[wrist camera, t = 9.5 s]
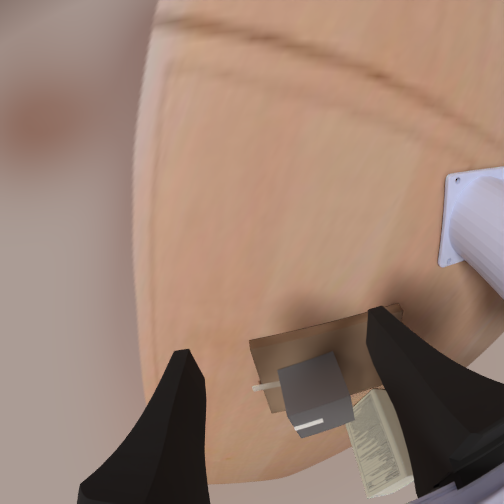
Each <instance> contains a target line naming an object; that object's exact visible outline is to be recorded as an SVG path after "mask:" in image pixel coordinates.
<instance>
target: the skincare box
mask: <svg viewBox="0 0 504 504" xmlns="http://www.w3.org/2000/svg"><path fill="white" fill-rule="evenodd" d="M353 412H354V417H355V420H354V421H352V422H349V423H346V424H345V425H346V428H347V431H348V435H349V438H350V441H351V444H352V448H353V451H354V454H355V458H356V461H357V465H358V468H359V471H360V475H361V478H362V482H363V485H364V489H365V493H366V496H367V499H369V498H373V497H378V496H383V495H387V494H392V493H394V492H396V491H397V490H399V489H401V488H403V487H404V486H406V485H408V484H410V483H411V482H413V481H414V477H413V472H412V467H411V463H410V458H409V454H408V450H407V446H406V443H405V439H404V436H403V432H402V429H401V426H400V423H399V420H398V417H397V414H396V411H395V409H394V406H393V404H392V402H391V400H390V398H389V396H388V394H387V392H386V390H382V389H372V390H371V391H370V392H369V393H368V394H367V395H366V396H364V397H363V398H362V399H361V400H360V401H359V402H358V403H357V404H356V405H355V406H354V407H353Z"/></svg>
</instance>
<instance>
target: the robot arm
mask: <svg viewBox="0 0 504 504" xmlns="http://www.w3.org/2000/svg"><path fill="white" fill-rule="evenodd" d="M456 178H457V181H456ZM455 181H456V182H455ZM464 260H465V261H466V262H468V263H469V264H470V265H471V266H472V267H473V268H474V269H475V270H476V271H477V272H478V273H479V274H480V275H481V276H482V277H483V278H484V279H485V280H486V281H487V283H488V284H489V285H490V286H491V287H492V288H493V289H494V290H495V291H496V292H497V293H498V294H499V295H500V296H501V297H502V298H503V300H504V166H502V167H494V168H486V169H479V170H472V171H465V172H458V173H451V174H449V175H448V176H447V177H446V181H445V199H444V213H443V224H442V233H441V242H440V250H439V257H438V265H439V266H440V267H446V266H449V265H452V264H455V263H458V262H461V261H464ZM366 345H367V348H368V351H369V354H370V357H371V360H372V363H373V365H374V367H375V369H376V371H377V373H378V375H379V377H380V379H381V382H382V384H383V386H384V388H385V390H386V392H387V394H388V396H389V398H390V400H391V402H392V404H393V406H394V409H395V411H396V414H397V417H398V420H399V423H400V426H401V429H402V432H403V436H404V439H405V443H406V446H407V450H408V454H409V458H410V463H411V467H412V472H413V477H414V483H415V489H416V494H417V496H418V499H416V500H413V501H411V502H409V503H406V504H504V384H502V383H500V382H497V381H494V380H492V379H489V378H486V377H484V376H482V375H479V374H478V373H476V372H473V371H471V370H469V369H467V368H465V367H463V366H461V365H460V364H458V363H456V362H454V361H453V360H451V359H450V358H448V357H446V356H445V355H443V354H442V353H440V352H439V351H437V350H436V349H435V348H433V347H432V346H430V345H429V344H428V343H426V342H425V341H424V340H422V339H421V338H420V337H419V336H417V335H416V334H415V333H414V332H412V331H411V330H410V329H409V328H408V327H406V326H405V325H404V324H403V323H402V322H401V321H399V320H398V319H397V318H396V317H395V316H394V315H392V314H391V313H390V312H389V311H388V310H387V309H386V308H384V307H383V306H379V307H376V308H372V309H369V310H368V320H367V334H366ZM205 422H206V388H205V378H204V376H203V374H202V373H201V371H200V369H199V367H198V365H197V363H196V361H195V360H194V358H193V356H192V354H191V352H190V350H189V349H184V350H178V351H174V353H173V355H172V357H171V359H170V361H169V363H168V365H167V368H166V370H165V372H164V374H163V376H162V378H161V380H160V382H159V384H158V386H157V388H156V390H155V392H154V394H153V396H152V398H151V400H150V401H149V403H148V405H147V407H146V408H145V410H144V412H143V414H142V415H141V417H140V418H139V420H138V421H137V423H136V425H135V426H134V428H133V429H132V430H131V432H130V433H129V434H128V436H127V437H126V439H125V440H124V441H123V442H122V444H121V445H120V446H119V447H118V448H117V450H116V451H115V452H114V453H113V454H112V455H111V456H110V457H109V458H108V459H107V460H106V461H105V462H104V463H103V465H101V467H99V468H98V469H97V470H96V471H95V472H94V473H93V474H91V475H90V476H89V477H88V478H87V479H86V480H84V481H83V482H82V483H81V484H80V487H79V493H78V500H77V504H210V498H209V492H208V484H207V476H206V466H205V448H204V446H205Z"/></svg>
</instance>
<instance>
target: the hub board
mask: <svg viewBox="0 0 504 504" xmlns="http://www.w3.org/2000/svg"><path fill="white" fill-rule="evenodd" d="M384 308H386V309H387V310H388V311H389V312H390V313H391V314H392V315H394V316H395V317H396V318H397V319H398V320H399V321H401V320H402V314H403V310H402V308H401V307H400V305H399V304H398V303H397V304H394V305H390V306H387V307H384ZM367 320H368V312H366V313H363V314H359V315H355V316H352V317H348V318H344V319H340V320H337V321H333V322H329V323H325V324H321V325H317V326H313V327H309V328H304V329H300V330H296V331H291V332H287V333H282V334H278V335H273V336H268V337H264V338H259V339H254V340H249V344H250V351H251V354H252V357H253V360H254V363H255V366H256V369H257V372H258V375H259V378H260V381H261V385H255V386H252V388H253V391H259V390H264V393H265V396H266V399H267V402H268V404H269V407H270V410H271V413H277V412H282V411H286V408H285V404H284V399H283V394H282V390H281V385H280V381H279V376H278V372H277V370H280V369H283V368H286V367H289V366H292V365H295V364H298V363H301V362H304V361H307V360H309V359H312V358H315V357H318V356H321V355H323V354H326V353H329V352H331V351H333V353H334V355H335V358H336V360H337V363H338V365H339V368H340V370H341V373H342V375H343V378H344V381H345V383H346V386H347V388H348V391H349V393H350V395H352V394H355V393H358V392H362V391H365V390H368V389H371V388H374V387H378V386H381V385H383V384H382V382H381V379H380V377H379V375H378V373H377V371H376V369H375V367H374V365H373V363H372V360H371V357H370V354H369V351H368V348H367V345H366V334H367Z"/></svg>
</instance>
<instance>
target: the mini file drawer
mask: <svg viewBox="0 0 504 504" xmlns="http://www.w3.org/2000/svg"><path fill="white" fill-rule="evenodd" d="M277 372H278V376H279V381H280V385H281V390H282V394H283V399H284V404H285V408H286V413H287V417H288V418H289V420H290V422H291V423H292V425H293V426H294V429H295V430H296V431H297V433H298V434H299V436H300V437H301V438H304V437H308V436H311V435H314V434H317V433H320V432H323V431H326V430H329V429H332V428H335V427H338V426H341V425H344V424H346V423H349V422H352V421H354V420H355V417H354V412H353V407H352V402H351V397H350V393H349V391H348V388H347V386H346V383H345V381H344V378H343V375H342V373H341V370H340V368H339V365H338V363H337V360H336V358H335V355H334V353H333V351H331V352H329V353H326V354H323V355H321V356H318V357H315V358H312V359H309V360H307V361H304V362H301V363H298V364H295V365H292V366H289V367H286V368H283V369H280V370H277Z"/></svg>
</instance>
